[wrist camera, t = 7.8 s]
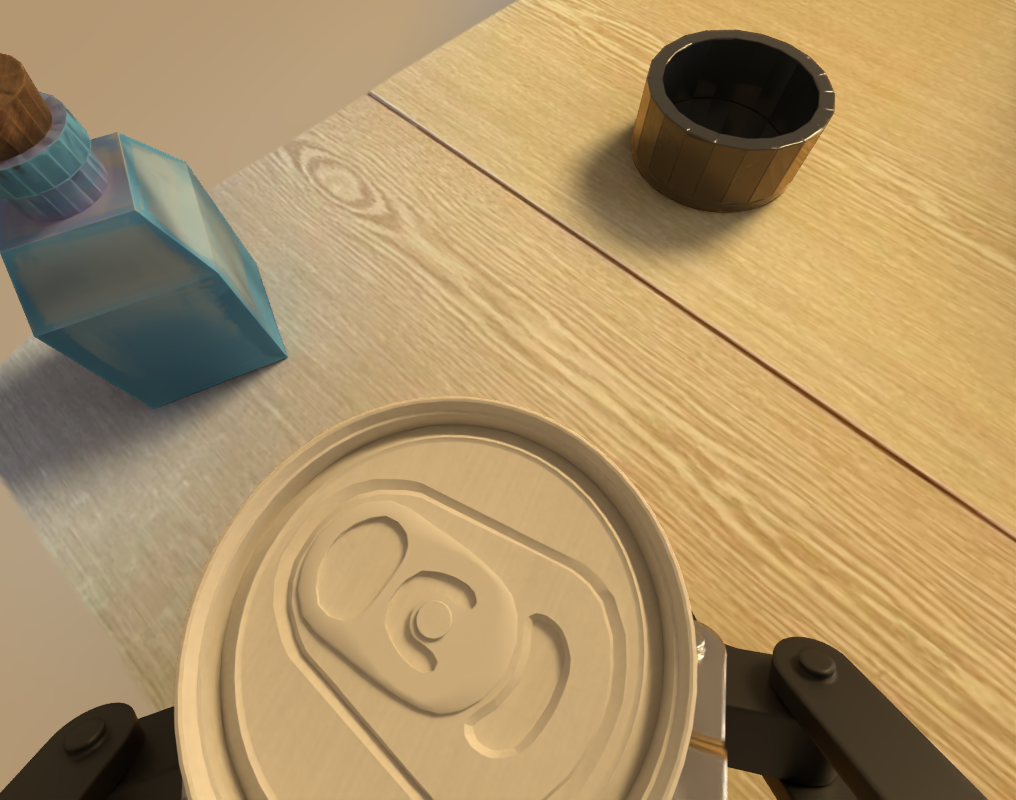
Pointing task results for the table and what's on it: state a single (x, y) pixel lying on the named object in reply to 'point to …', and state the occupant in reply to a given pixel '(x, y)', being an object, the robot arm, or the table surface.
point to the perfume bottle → (123, 255)
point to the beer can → (439, 621)
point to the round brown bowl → (729, 119)
